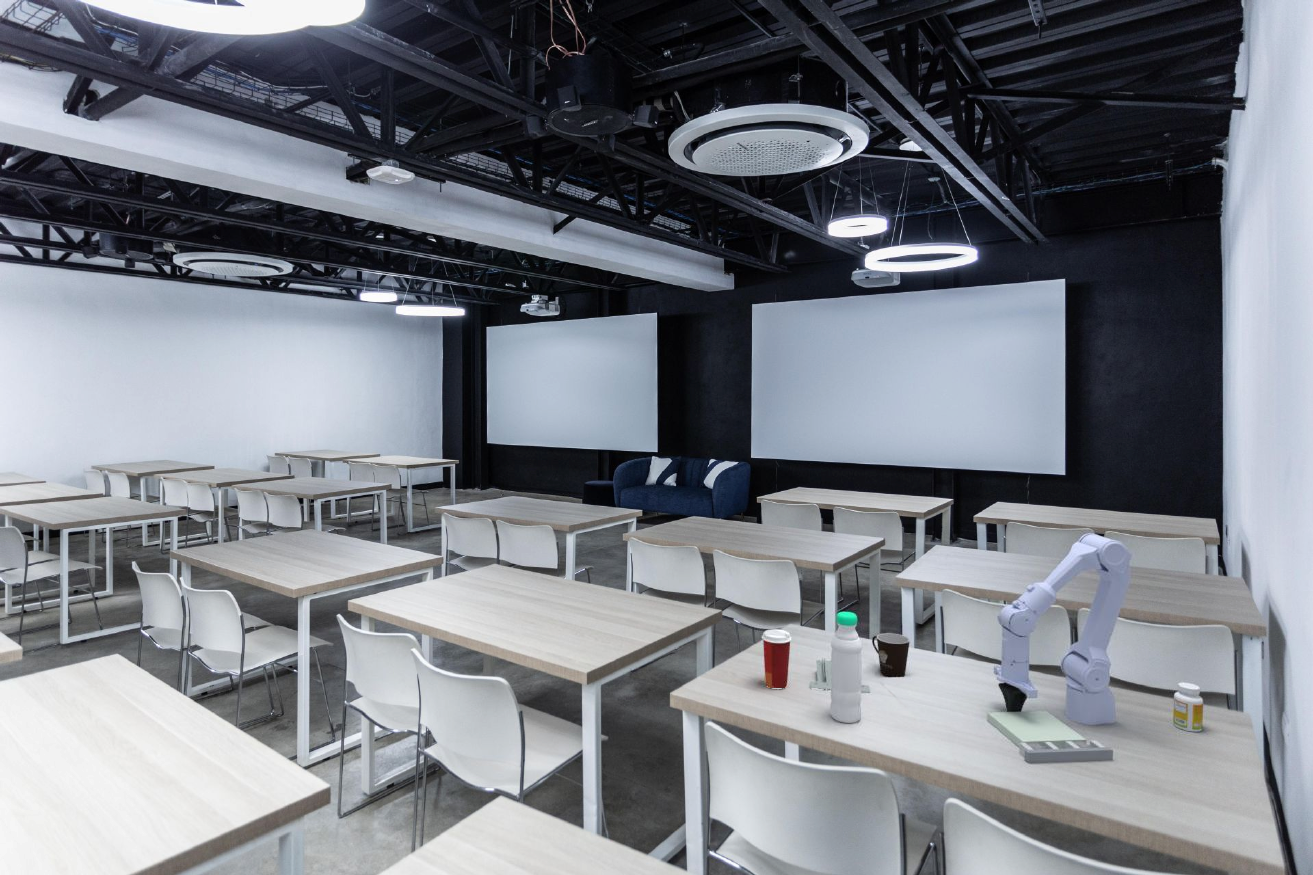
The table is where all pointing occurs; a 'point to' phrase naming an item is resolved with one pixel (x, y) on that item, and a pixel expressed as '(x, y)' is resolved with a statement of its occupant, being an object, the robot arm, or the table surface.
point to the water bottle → (846, 670)
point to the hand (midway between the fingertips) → (1013, 715)
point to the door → (1035, 729)
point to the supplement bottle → (1188, 708)
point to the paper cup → (776, 657)
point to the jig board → (1066, 753)
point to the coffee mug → (892, 654)
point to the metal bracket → (828, 677)
